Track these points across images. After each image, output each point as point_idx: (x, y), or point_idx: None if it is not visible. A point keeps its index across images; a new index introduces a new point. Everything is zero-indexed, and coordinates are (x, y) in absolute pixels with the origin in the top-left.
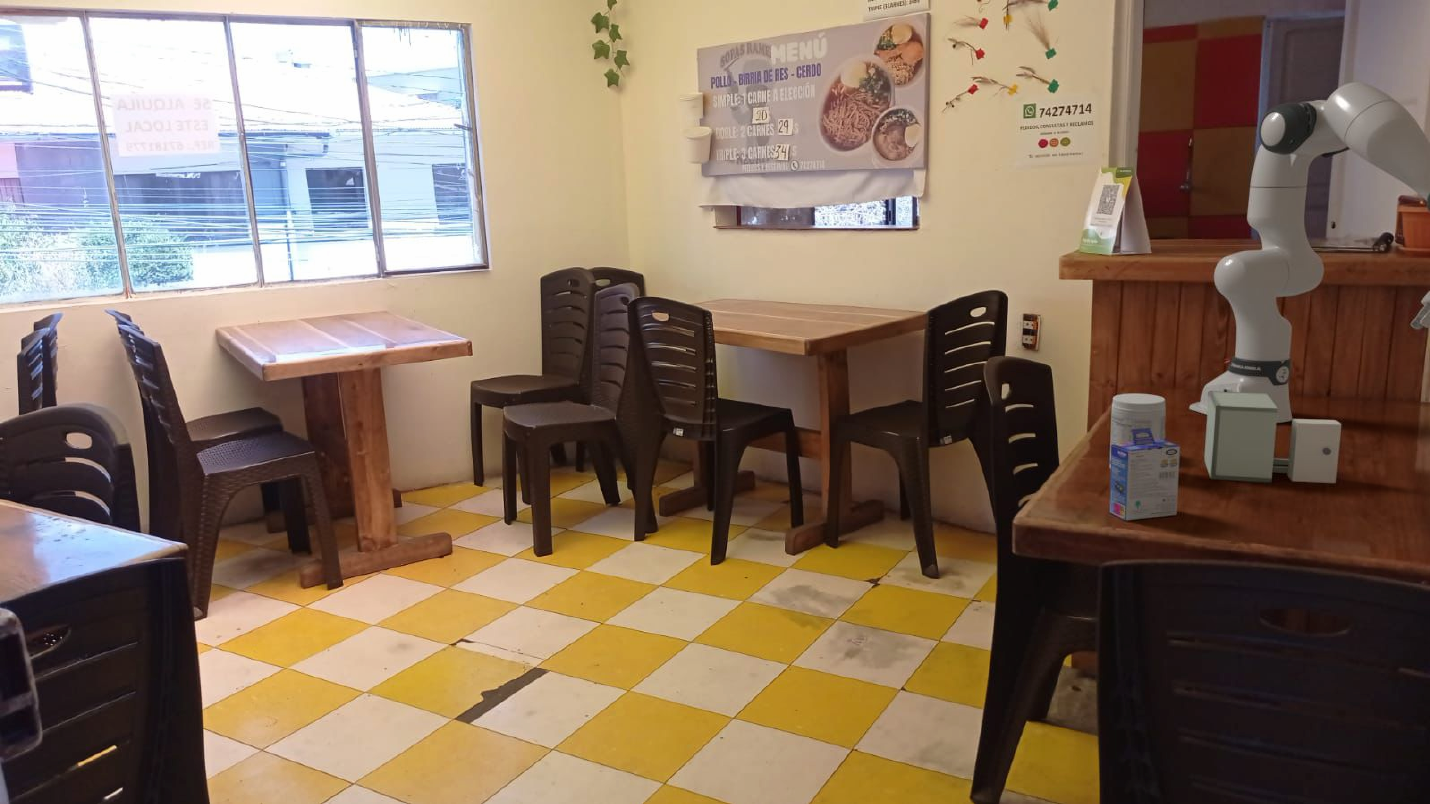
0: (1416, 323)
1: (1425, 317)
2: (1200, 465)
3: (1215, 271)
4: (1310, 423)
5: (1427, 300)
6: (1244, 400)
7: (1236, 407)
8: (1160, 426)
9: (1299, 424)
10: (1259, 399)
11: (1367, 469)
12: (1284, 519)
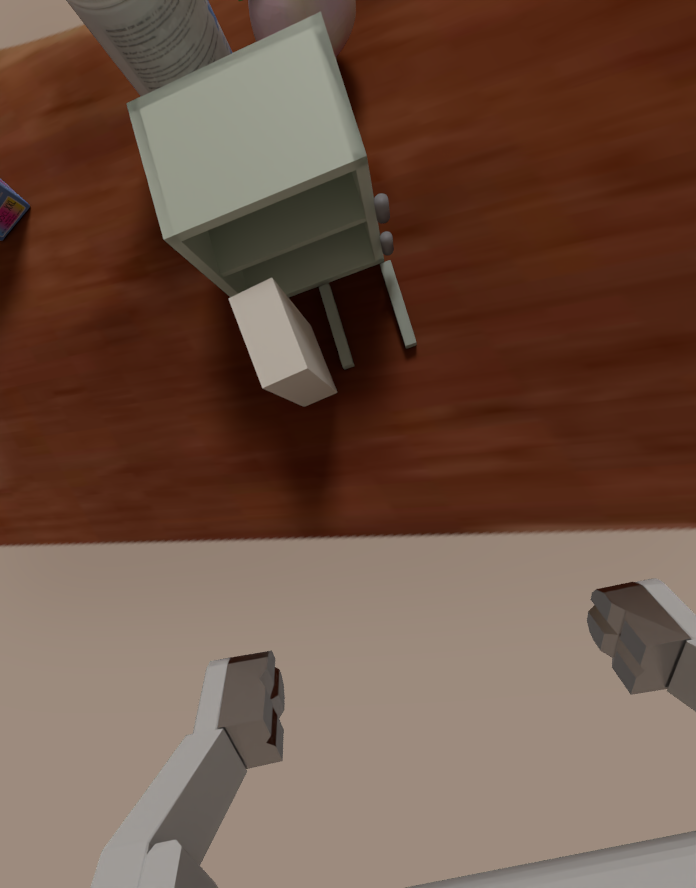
0: (610, 620)
1: (200, 708)
2: None
3: None
4: (238, 324)
5: (691, 836)
6: (229, 138)
7: (140, 150)
8: (118, 49)
9: (230, 303)
10: (261, 167)
11: (442, 445)
12: (59, 373)
